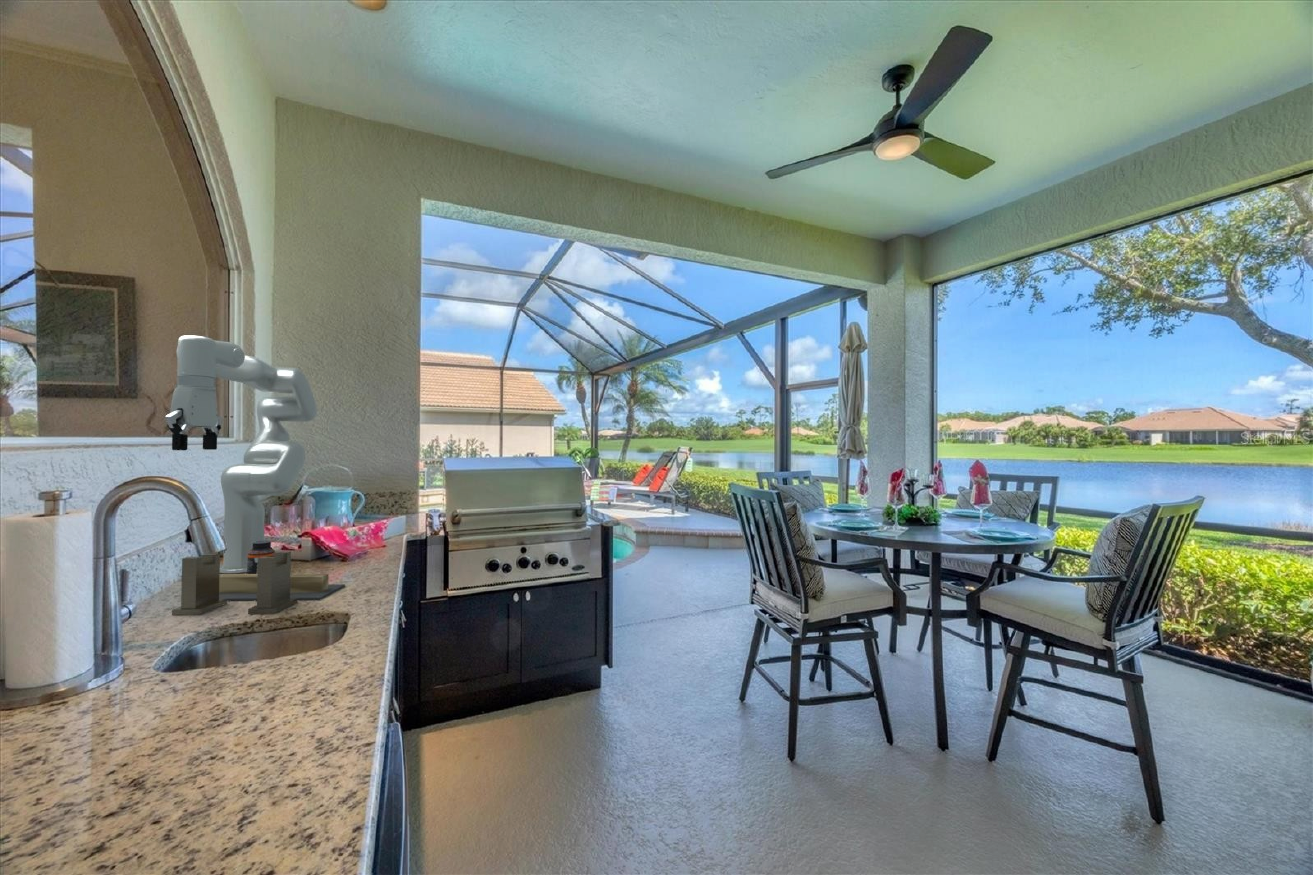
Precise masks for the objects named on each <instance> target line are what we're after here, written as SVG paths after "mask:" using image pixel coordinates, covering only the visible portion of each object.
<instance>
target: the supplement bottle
mask: <svg viewBox="0 0 1313 875" xmlns="http://www.w3.org/2000/svg"><path fill="white" fill-rule="evenodd" d="M252 547H253V548H252V549H251V550H250V551H249V552H248V560H247V572H246V574H258V558H260V557H274V553H275V552H276V551H275V548H272V541H271V540H264V541H256V542H253V546H252Z"/></svg>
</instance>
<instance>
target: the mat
mask: <svg viewBox="0 0 1313 875" xmlns="http://www.w3.org/2000/svg"><path fill="white" fill-rule="evenodd" d="M344 588H346V584H345V583H342V584H336V583H335V584H333V583H332V584H329V583H328V589H327V590H326V591H324V592H321V593H290V598H298V601H321V600H323V599H325V598H327V597H329V596H331V595H332V594H334V593H336V592H338V591H340V590H341V589H344ZM219 599H227V600H237V601H236V602H248V601H249V602H257V593H219ZM238 600H240V601H238ZM254 600H256V601H254Z"/></svg>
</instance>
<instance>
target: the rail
mask: <svg viewBox="0 0 1313 875" xmlns="http://www.w3.org/2000/svg"><path fill="white" fill-rule="evenodd" d="M257 576H258V574H247V573H220V578H219V593H257ZM328 584H329V573H291V575H290V593H321V592H324V591H326V590H327V589H328Z"/></svg>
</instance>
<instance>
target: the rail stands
mask: <svg viewBox="0 0 1313 875" xmlns="http://www.w3.org/2000/svg"><path fill="white" fill-rule="evenodd" d="M291 563H292V552H291V551H275V553H274V557H260V558H258V576H257V601H256V604H255V605H254V606H252V607H249V608H248V609H247V615H277V614H280V613H281V612H283V611H285V610H286V609H289V608H291V607H293V606H295V605H297V604H298V601H299V600H298V598H290V575H291V574H292V573H291V572H292V571H291V568H292V566H291V565H292V564H291ZM220 566H221V553H220V554H216V555H202V554H201V556H186V557H182V558H181V590H180V591H181V592H180V595H181V596H180V606H178V607H175V608H173V609H171V616H201V615H203V614H206V613H209V612H210V611H213V610H215V609H218V608H220V607H223V606H224V605H223V604H225V605H228V601H227V599H219V578H220V575H221V573H220ZM294 604H295V605H294ZM222 605H223V606H222ZM212 609H213V610H212ZM284 609H285V610H284ZM197 614H198V615H197Z"/></svg>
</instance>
